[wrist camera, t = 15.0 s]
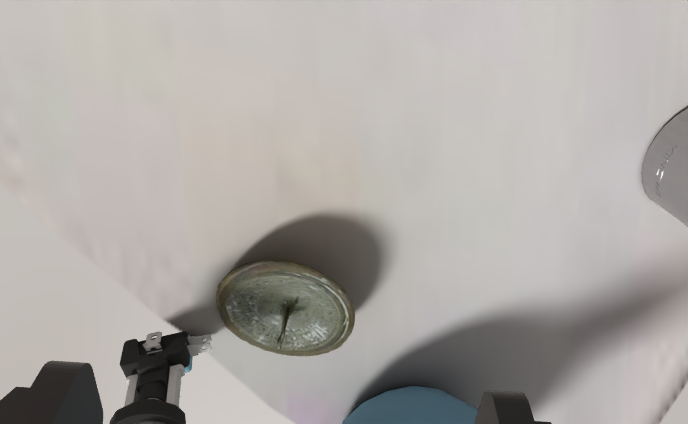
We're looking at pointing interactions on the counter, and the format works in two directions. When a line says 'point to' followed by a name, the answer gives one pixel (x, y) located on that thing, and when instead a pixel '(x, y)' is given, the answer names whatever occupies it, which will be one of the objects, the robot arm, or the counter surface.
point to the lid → (285, 308)
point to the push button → (157, 377)
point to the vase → (413, 408)
